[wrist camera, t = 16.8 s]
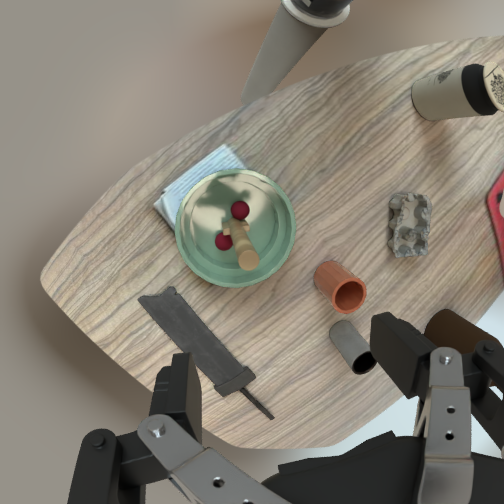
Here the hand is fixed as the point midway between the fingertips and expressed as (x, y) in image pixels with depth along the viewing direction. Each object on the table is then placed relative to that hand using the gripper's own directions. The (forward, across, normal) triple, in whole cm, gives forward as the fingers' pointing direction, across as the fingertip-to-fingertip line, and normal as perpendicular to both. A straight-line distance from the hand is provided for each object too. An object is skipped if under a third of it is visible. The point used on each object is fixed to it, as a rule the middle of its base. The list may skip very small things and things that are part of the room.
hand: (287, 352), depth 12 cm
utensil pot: (+32, -14, +11) cm, 37 cm away
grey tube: (+32, -16, +22) cm, 42 cm away
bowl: (+32, 0, 0) cm, 32 cm away
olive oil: (+32, -41, +29) cm, 60 cm away
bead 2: (+30, -1, -2) cm, 30 cm away
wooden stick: (+32, 0, 0) cm, 32 cm away
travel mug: (+32, -37, -18) cm, 52 cm away
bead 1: (+30, +2, +2) cm, 30 cm away
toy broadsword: (+32, +6, +24) cm, 40 cm away
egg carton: (+32, -29, +4) cm, 44 cm away
